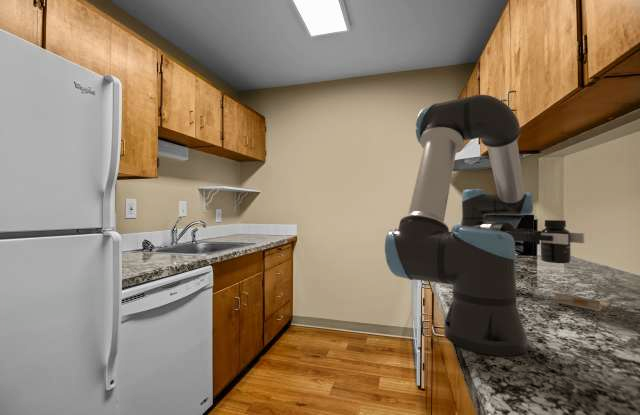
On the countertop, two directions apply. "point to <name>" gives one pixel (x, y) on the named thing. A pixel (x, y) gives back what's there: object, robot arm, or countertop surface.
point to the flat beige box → (581, 302)
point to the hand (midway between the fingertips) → (575, 238)
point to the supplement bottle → (552, 250)
